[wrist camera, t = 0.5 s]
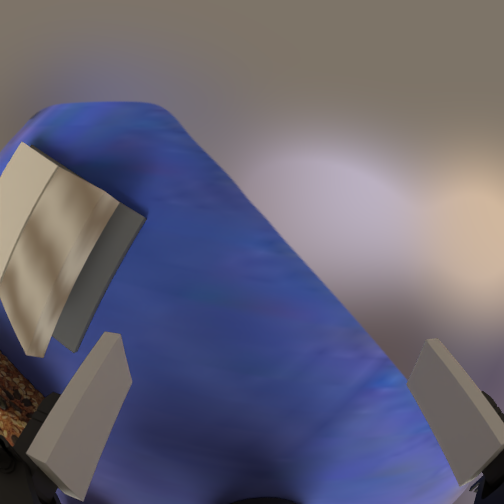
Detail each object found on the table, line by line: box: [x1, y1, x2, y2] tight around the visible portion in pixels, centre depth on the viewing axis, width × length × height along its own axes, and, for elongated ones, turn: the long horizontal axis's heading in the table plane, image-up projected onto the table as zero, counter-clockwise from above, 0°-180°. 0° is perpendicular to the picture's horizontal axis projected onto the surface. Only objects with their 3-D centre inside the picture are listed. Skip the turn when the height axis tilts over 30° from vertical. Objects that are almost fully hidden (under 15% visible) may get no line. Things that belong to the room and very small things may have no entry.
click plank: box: [0, 167, 120, 358], centre depth 22 cm, size 16×11×2 cm
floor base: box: [0, 142, 147, 353], centre depth 25 cm, size 17×20×3 cm
